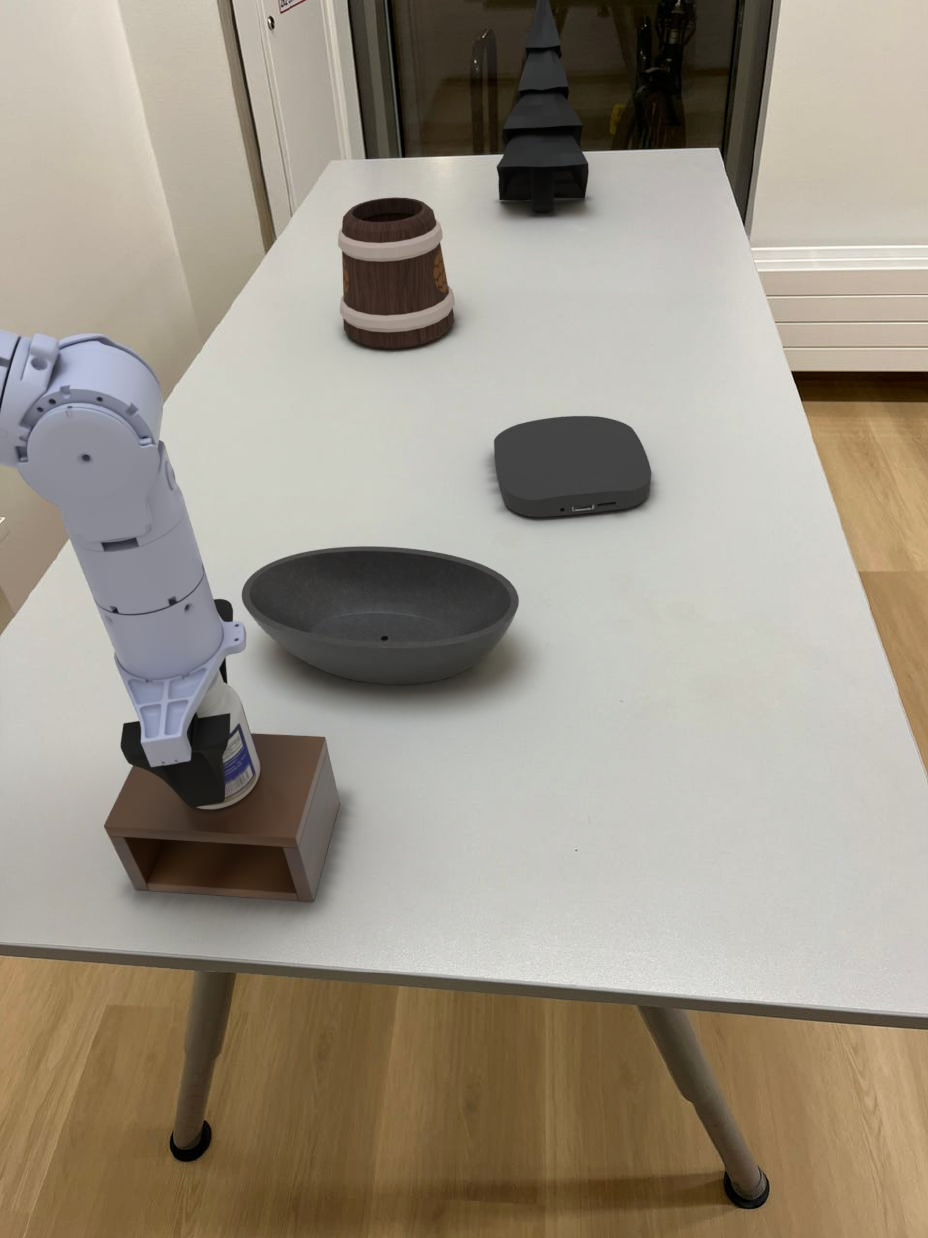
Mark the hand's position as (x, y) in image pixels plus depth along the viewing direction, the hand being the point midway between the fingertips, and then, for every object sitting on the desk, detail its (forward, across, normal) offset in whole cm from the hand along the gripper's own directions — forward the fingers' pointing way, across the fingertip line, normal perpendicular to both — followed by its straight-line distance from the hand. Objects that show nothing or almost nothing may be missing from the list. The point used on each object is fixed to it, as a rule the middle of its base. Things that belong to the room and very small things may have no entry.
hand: (209, 753), depth 58 cm
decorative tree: (+10, +124, -50) cm, 134 cm away
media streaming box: (+9, +39, -33) cm, 52 cm away
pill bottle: (+3, 0, 0) cm, 3 cm away
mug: (+10, +82, -21) cm, 85 cm away
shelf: (+9, 0, 0) cm, 9 cm away
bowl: (+10, +17, -12) cm, 23 cm away
